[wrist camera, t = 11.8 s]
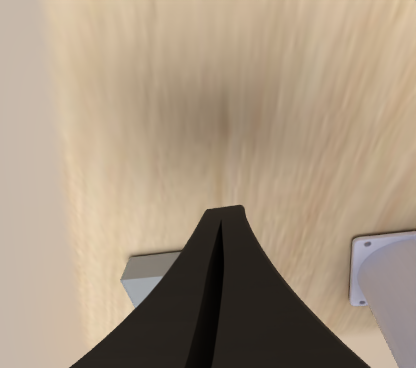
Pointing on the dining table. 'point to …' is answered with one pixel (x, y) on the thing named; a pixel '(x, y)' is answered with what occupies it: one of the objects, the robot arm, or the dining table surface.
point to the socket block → (145, 274)
